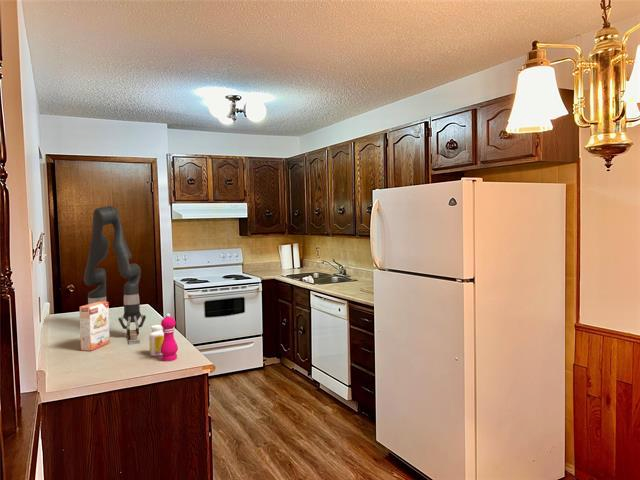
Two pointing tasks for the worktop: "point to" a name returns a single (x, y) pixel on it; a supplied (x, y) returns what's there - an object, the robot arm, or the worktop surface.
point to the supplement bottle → (156, 340)
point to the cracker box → (94, 325)
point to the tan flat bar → (133, 338)
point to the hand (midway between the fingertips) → (132, 335)
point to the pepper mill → (168, 339)
